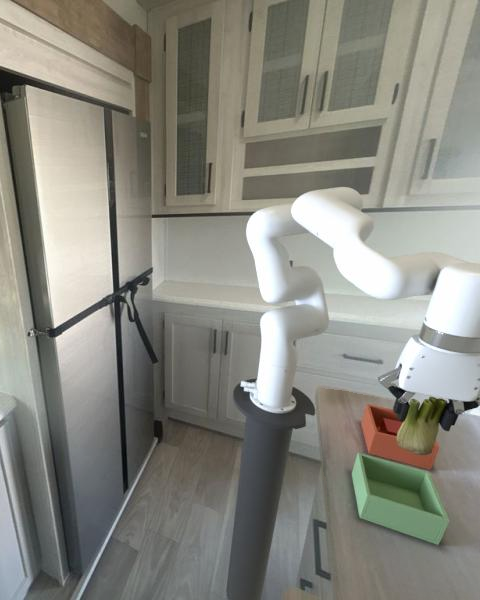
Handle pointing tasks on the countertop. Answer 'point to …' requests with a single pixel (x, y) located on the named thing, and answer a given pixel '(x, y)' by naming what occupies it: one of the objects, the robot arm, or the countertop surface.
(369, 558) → the countertop surface
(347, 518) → the countertop surface
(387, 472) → the sage bin
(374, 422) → the terracotta bin
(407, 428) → the fennel bulb
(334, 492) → the countertop surface
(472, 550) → the countertop surface
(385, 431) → the red block
